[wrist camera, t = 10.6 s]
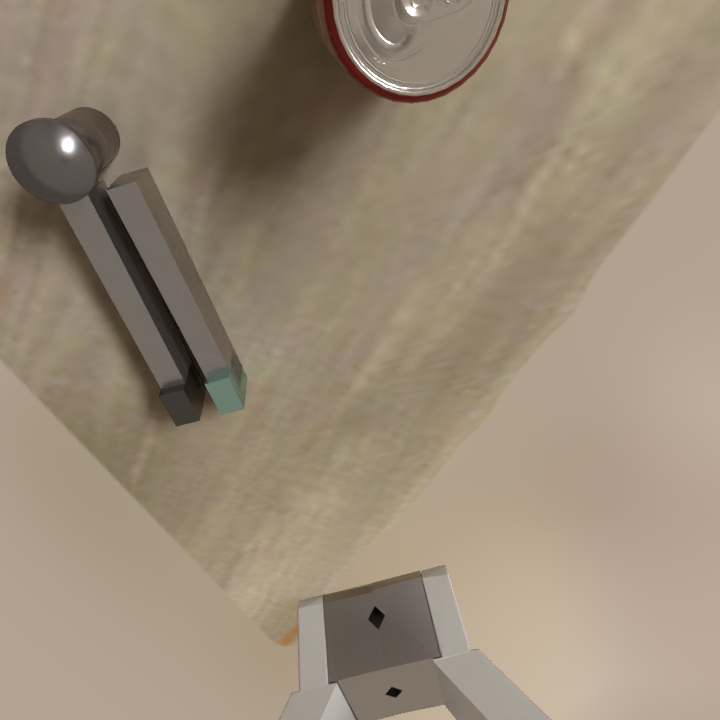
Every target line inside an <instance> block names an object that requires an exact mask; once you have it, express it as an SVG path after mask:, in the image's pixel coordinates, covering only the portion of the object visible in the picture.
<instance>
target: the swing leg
mask: <svg viewBox="0 0 720 720" xmlns="http://www.w3.org/2000/svg"><path fill="white" fill-rule="evenodd" d="M106 191H107V193H108V195H109V197H110V199H111V201H112V202H113V204H114V206H115V208H116V210H117V212H118V214H119V216H120V217H121V219H122V221H123V223H124V225H125V227H126V229H127V231H128V232H129V234H130V236H131V238H132V240H133V242H134V244H135V246H136V248H137V249H138V251H139V253H140V255H141V257H142V259H143V261H144V263H145V264H146V266H147V268H148V270H149V272H150V274H151V276H152V278H153V279H154V281H155V283H156V285H157V287H158V289H159V291H160V293H161V294H162V296H163V298H164V300H165V302H166V304H167V306H168V308H169V309H170V311H171V313H172V315H173V317H174V319H175V321H176V323H177V324H178V326H179V328H180V330H181V332H182V334H183V336H184V338H185V340H186V341H187V343H188V345H189V347H190V349H191V351H192V353H193V355H194V356H195V358H196V360H197V362H198V364H199V366H200V368H201V370H202V371H203V373H204V375H205V377H206V380H205V386H206V388H207V390H208V392H209V394H210V395H211V397H212V399H213V401H214V403H215V405H216V407H217V408H218V410H219V412H220V414H221V415H223V414H226V413H230V412H234V411H237V410H241V409H244V404H245V394H246V384H247V376H246V374H245V372H244V370H243V368H242V365H241V363H240V361H239V359H238V357H237V355H236V353H235V351H234V349H233V346H232V344H231V342H230V340H229V338H228V336H227V334H226V332H225V330H224V327H223V325H222V323H221V321H220V319H219V317H218V315H217V313H216V311H215V308H214V306H213V304H212V302H211V300H210V298H209V296H208V294H207V292H206V289H205V287H204V285H203V283H202V281H201V279H200V277H199V275H198V273H197V270H196V268H195V266H194V264H193V262H192V260H191V258H190V256H189V254H188V252H187V249H186V247H185V245H184V243H183V241H182V239H181V237H180V235H179V233H178V230H177V228H176V226H175V224H174V222H173V220H172V218H171V216H170V214H169V211H168V209H167V207H166V205H165V203H164V201H163V199H162V197H161V195H160V192H159V190H158V188H157V186H156V184H155V182H154V180H153V178H152V176H151V173H150V171H149V169H148V168H144V169H141V170H138V171H134V172H131V173H127V174H124V175H121V176H120V177H119V178H118V179H117V180H116V181H115V182H114V183H113V184H112V185H111V186H110V187H109V188H108V189H107V190H106Z"/></svg>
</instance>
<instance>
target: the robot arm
mask: <svg viewBox="0 0 720 720" xmlns="http://www.w3.org/2000/svg"><path fill="white" fill-rule="evenodd" d="M297 617H298V660H299V691H297V692H293V693H292V694H291V696H290V698H289V700H288V702H287V704H286V706H285V708H284V710H283V712H282V714H281V716H280V719H279V720H378V719H382V718H386V717H389V716H393V715H397V714H401V713H405V712H411V711H415V710H420V709H425V708H430V707H435V706H440V705H446V707H447V708H448V710H449V711H450V712H451V713H452V715H453V716H454V717H455V718H456V720H551V719H550V718H549V717H548V716H547V715H546V714H545V713H544V712H543V711H542V710H541V709H540V708H539V707H538V706H537V705H536V704H535V703H534V702H533V701H532V700H531V699H530V698H529V697H528V696H527V695H526V694H525V693H524V692H523V691H521V689H519V687H517V685H515V684H514V683H513V682H512V681H511V680H510V679H509V678H508V677H507V676H506V675H505V674H504V673H503V672H502V671H501V670H500V669H499V668H498V667H497V666H496V665H495V664H494V663H493V662H492V661H491V660H490V659H489V658H488V657H487V656H486V655H485V654H484V653H482V652H481V651H480V649H474V650H471V649H470V645H469V642H468V638H467V635H466V631H465V628H464V625H463V621H462V618H461V614H460V611H459V607H458V604H457V601H456V597H455V594H454V590H453V587H452V584H451V581H450V577H449V573H448V571H447V568H446V566H445V565H442V566H439V567H434V568H430V569H426V570H422V571H421V574H420V571H417V572H413V573H409V574H405V575H401V576H397V577H394V578H390V579H386V580H382V581H378V582H375V583H371V584H367V585H363V586H360V587H355V588H351V589H347V590H343V591H338V592H334V593H330V594H324V595H320V596H316V597H312V598H308V599H304V600H300V601H299V605H298V610H297Z"/></svg>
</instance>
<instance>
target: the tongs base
mask: <svg viewBox="0 0 720 720" xmlns="http://www.w3.org/2000/svg"><path fill="white" fill-rule="evenodd" d="M119 148H120V137H119V133H118V131H117V129H116V127H115V125H114V124H113V122H112V121H111V120H110V119H109V118H108V117H107V116H106V115H105V114H103V113H102V112H100V111H98V110H95V109H93V108H88V107H80V108H76V109H74V110H72V111H70V112H68V113H65V114H63V115H61V116H59V117H57V118H55V119H51V118H36V119H32V120H29V121H26V122H24V123H22V124H20V125H18V126H17V127H16V128H15V129H14V130H13V131H12V132H11V134H10V135H9V137H8V140H7V143H6V159H7V163H8V166H9V168H10V170H11V172H12V174H13V176H14V177H15V179H16V180H17V181H18V182H19V184H20V185H21V186H22V187H23V188H24V189H25V190H27V191H28V192H29V193H31V194H32V195H34V196H35V197H37V198H39V199H41V200H44V201H46V202H50V203H54V204H59V206H60V208H61V209H62V211H63V213H64V215H65V217H66V218H67V220H68V222H69V224H70V226H71V227H72V229H73V231H74V233H75V235H76V236H77V238H78V240H79V242H80V244H81V245H82V247H83V249H84V251H85V253H86V254H87V256H88V258H89V260H90V262H91V263H92V265H93V267H94V269H95V271H96V272H97V274H98V276H99V278H100V280H101V281H102V283H103V285H104V287H105V289H106V290H107V292H108V294H109V296H110V298H111V299H112V301H113V303H114V305H115V307H116V308H117V310H118V312H119V314H120V316H121V317H122V319H123V321H124V323H125V325H126V326H127V328H128V330H129V332H130V334H131V335H132V337H133V339H134V341H135V343H136V344H137V346H138V348H139V350H140V352H141V353H142V355H143V357H144V359H145V361H146V362H147V364H148V366H149V368H150V370H151V371H152V373H153V375H154V377H155V379H156V381H157V382H158V384H159V386H160V388H161V392H160V395H159V396H160V398H161V400H162V402H163V404H164V405H165V407H166V409H167V411H168V412H169V414H170V416H171V418H172V420H173V421H174V423H175V425H176V426H180V425H184V424H188V423H192V422H196V421H200V416H201V411H202V406H203V401H204V396H205V391H206V387H205V385H204V383H203V381H202V379H201V377H200V375H199V373H198V371H197V369H196V367H195V365H194V363H193V361H192V359H191V357H190V355H189V353H188V351H187V349H186V347H185V345H184V343H183V340H182V338H181V336H180V334H179V332H178V330H177V328H176V326H175V324H174V322H173V320H172V318H171V316H170V314H169V312H168V310H167V308H166V306H165V304H164V302H163V300H162V298H161V296H160V294H159V292H158V290H157V288H156V286H155V283H154V281H153V279H152V277H151V275H150V273H149V271H148V269H147V267H146V265H145V263H144V261H143V259H142V257H141V255H140V253H139V251H138V249H137V248H136V246H135V244H134V242H133V240H132V238H131V236H130V234H129V232H128V231H127V229H126V227H125V225H124V223H123V221H122V219H121V217H120V216H119V214H118V212H117V210H116V208H115V206H114V204H113V202H112V201H111V199H110V197H109V195H108V193H107V191H106V190H107V189H108V188H107V186H106V184H105V182H104V180H103V181H99V182H97V178H98V172H99V171H101V170H102V169H103V168H104V167H105V166H106V165H107V164H108V163H109V162H111V161H112V160H113V159H114V158H115V157H116V155H117V154H118V151H119Z"/></svg>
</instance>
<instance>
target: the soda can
mask: <svg viewBox="0 0 720 720" xmlns="http://www.w3.org/2000/svg"><path fill="white" fill-rule="evenodd" d="M508 2H509V0H310V7H311V15H312V19H313V23H314V26H315V29H316V32H317V34H318V36H319V38H320V40H321V42H322V44H323V45H324V47H325V48H326V49H327V51H328V52H329V54H330V55H331V56H332V57H333V58H334V59H335V60H336V61H337V62H338V63H339V64H340V65H341V66H342V67H343V68H344V69H345V70H346V71H347V72H348V73H349V74H350V75H351V76H352V77H353V78H354V79H355V80H356V81H357V82H358V83H359V84H360V85H362V86H363V87H364V88H365V89H367V90H369V91H370V92H372V93H374V94H375V95H377V96H379V97H382V98H385V99H388V100H391V101H394V102H402V103H419V102H427V101H431V100H433V99H436V98H439V97H442V96H445V95H446V94H448V93H450V92H451V91H453V90H455V89H457V88H458V87H460V86H461V85H462V84H463V83H465V82H466V81H467V80H468V79H469V78H470V77H471V76H473V75H474V74H475V72H476V71H477V70H478V69H479V67H480V66H481V65H482V64H483V63H484V61H485V60H486V59H487V57H488V55H489V54H490V52H491V50H492V48H493V47H494V45H495V43H496V41H497V39H498V36H499V34H500V31H501V28H502V26H503V23H504V21H505V16H506V11H507V7H508Z"/></svg>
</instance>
